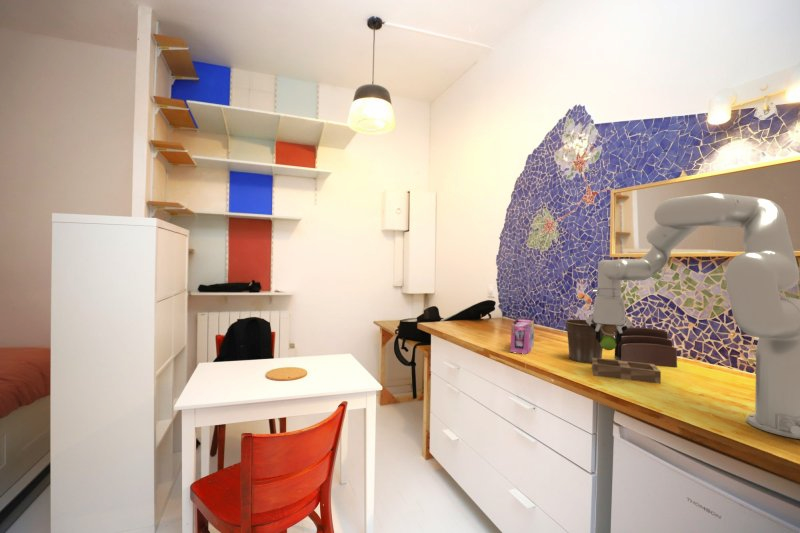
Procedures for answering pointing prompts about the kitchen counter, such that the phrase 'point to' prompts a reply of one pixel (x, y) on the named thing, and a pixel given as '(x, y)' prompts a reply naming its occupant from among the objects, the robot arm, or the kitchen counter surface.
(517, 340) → the gum box
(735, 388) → the kitchen counter surface
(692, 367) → the kitchen counter surface
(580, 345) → the plant pot
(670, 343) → the letter holder
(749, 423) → the robot arm
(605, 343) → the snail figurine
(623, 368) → the brown wooden flat frame
